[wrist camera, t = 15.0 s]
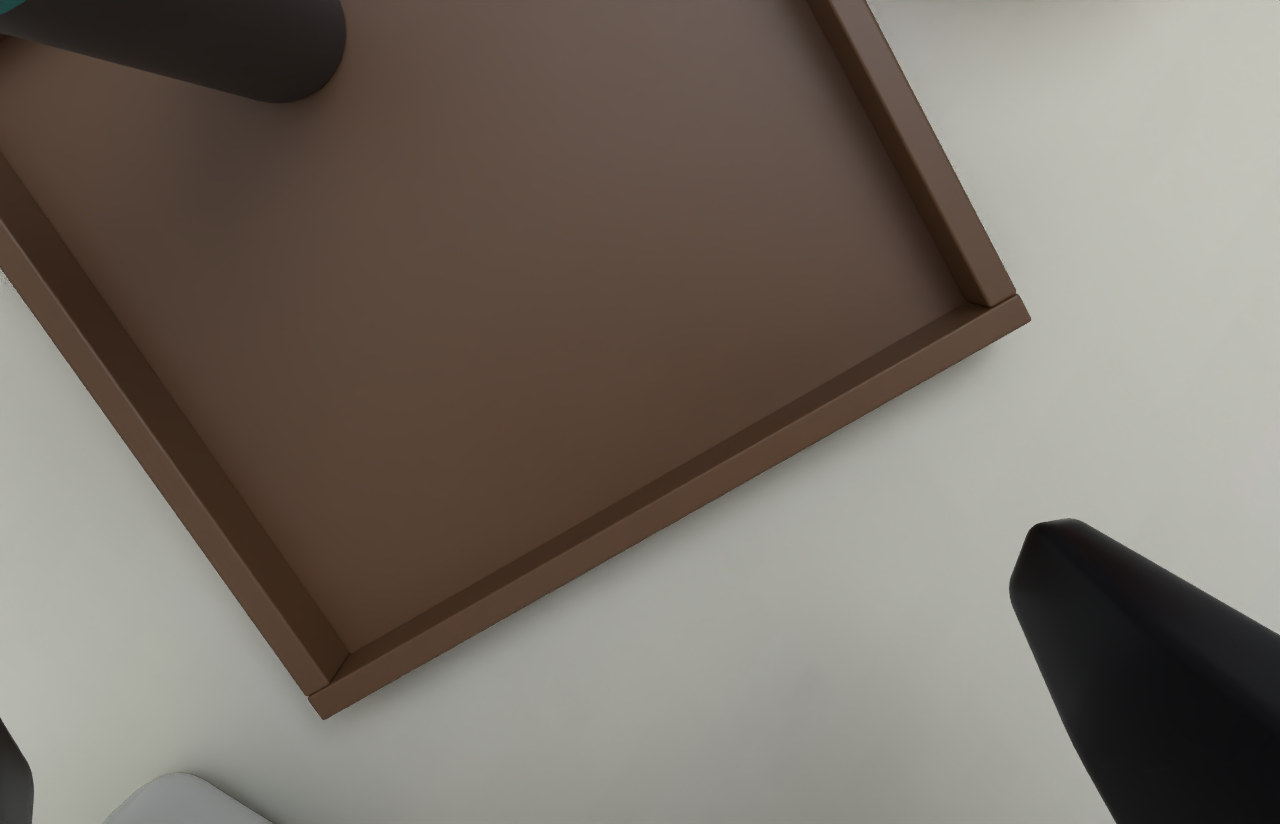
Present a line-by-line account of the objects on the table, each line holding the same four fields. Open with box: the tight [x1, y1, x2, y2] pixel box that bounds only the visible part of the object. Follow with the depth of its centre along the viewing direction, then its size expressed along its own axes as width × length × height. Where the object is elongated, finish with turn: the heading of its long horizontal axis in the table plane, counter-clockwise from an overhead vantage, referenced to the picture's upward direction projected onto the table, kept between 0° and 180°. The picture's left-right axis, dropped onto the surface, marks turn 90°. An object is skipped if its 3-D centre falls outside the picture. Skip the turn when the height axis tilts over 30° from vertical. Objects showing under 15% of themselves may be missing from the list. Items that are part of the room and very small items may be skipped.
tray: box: [0, 0, 1031, 720], centre depth 20 cm, size 15×16×2 cm
